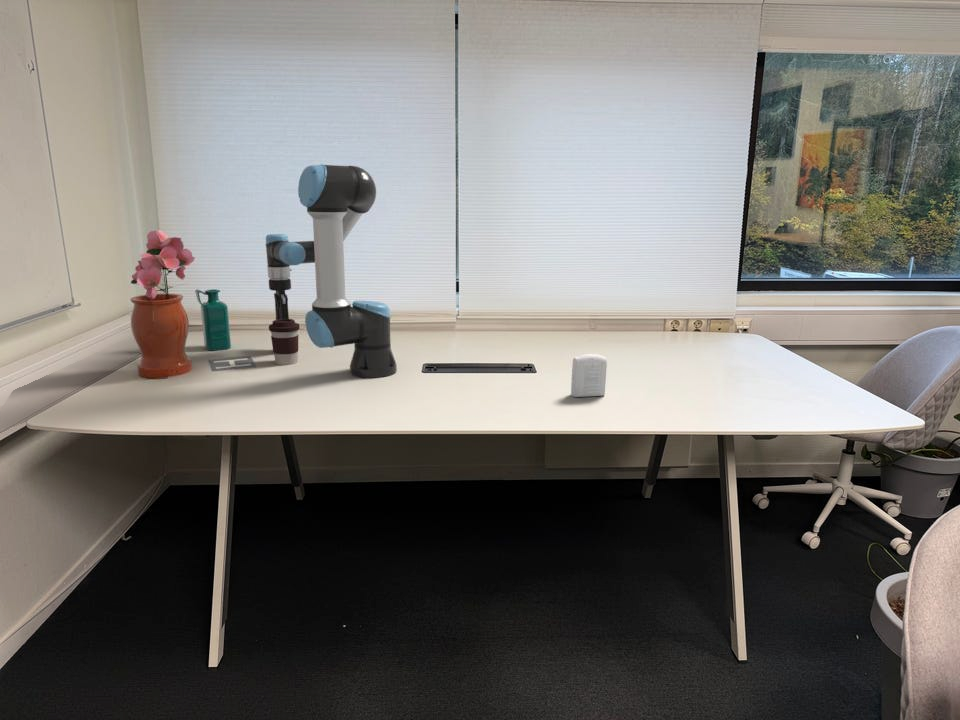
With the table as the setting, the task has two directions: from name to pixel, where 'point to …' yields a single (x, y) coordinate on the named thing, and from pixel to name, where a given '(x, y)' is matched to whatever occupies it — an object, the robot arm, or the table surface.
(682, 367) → the table surface
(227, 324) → the pitcher
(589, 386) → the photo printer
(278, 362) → the coffee cup
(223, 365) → the letter mat
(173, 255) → the potted flower
